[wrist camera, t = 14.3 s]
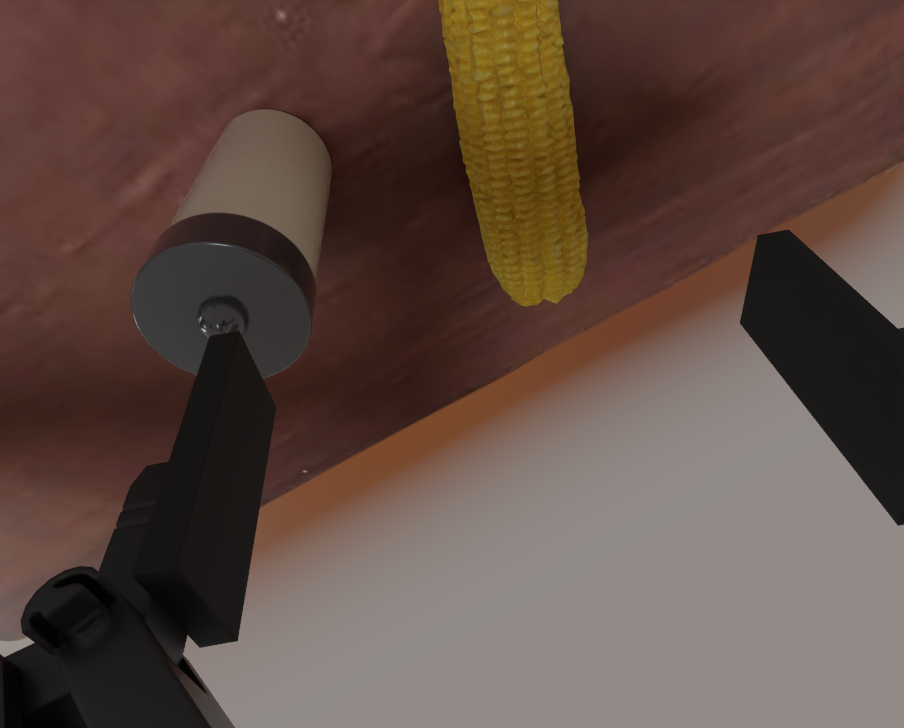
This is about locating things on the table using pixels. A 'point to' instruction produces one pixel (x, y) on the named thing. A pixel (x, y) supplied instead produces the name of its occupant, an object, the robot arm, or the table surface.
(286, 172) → the pepper mill
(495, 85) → the food
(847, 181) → the table surface
